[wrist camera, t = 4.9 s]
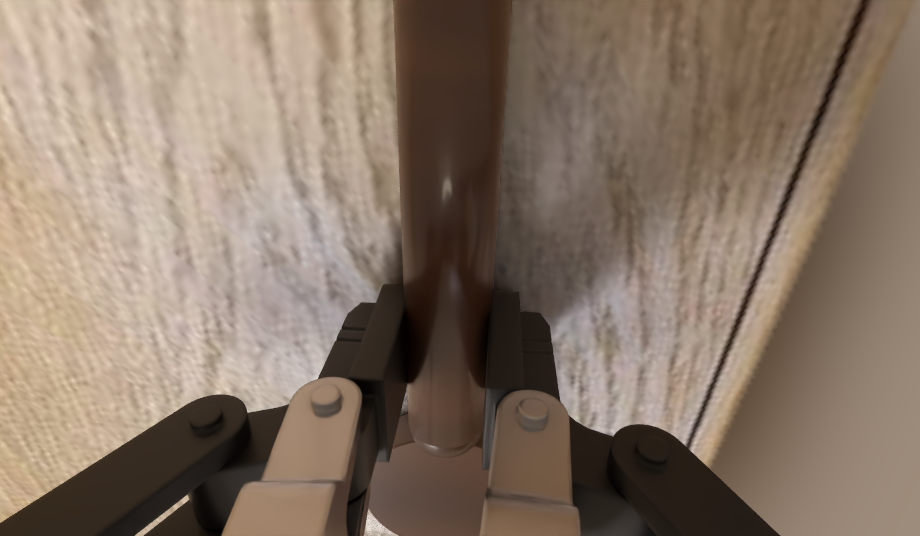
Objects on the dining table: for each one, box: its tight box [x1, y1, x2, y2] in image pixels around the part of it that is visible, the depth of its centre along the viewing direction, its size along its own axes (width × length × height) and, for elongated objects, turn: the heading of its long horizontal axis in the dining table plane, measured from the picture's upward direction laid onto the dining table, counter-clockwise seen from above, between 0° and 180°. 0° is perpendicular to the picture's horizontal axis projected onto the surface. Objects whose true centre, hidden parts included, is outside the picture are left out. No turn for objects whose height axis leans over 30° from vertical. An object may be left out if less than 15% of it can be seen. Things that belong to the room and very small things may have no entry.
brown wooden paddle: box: [368, 0, 512, 536], centre depth 12 cm, size 17×5×2 cm, turn 179°
